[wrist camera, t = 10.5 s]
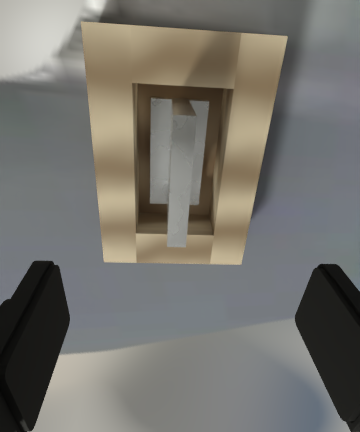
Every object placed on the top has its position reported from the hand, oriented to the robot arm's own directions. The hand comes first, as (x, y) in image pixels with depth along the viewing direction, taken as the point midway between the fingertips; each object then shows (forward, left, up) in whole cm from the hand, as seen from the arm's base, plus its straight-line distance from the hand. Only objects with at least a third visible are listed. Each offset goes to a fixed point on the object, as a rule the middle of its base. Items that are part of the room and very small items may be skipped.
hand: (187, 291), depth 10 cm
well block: (+1, 0, -19) cm, 19 cm away
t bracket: (0, 0, -19) cm, 19 cm away
